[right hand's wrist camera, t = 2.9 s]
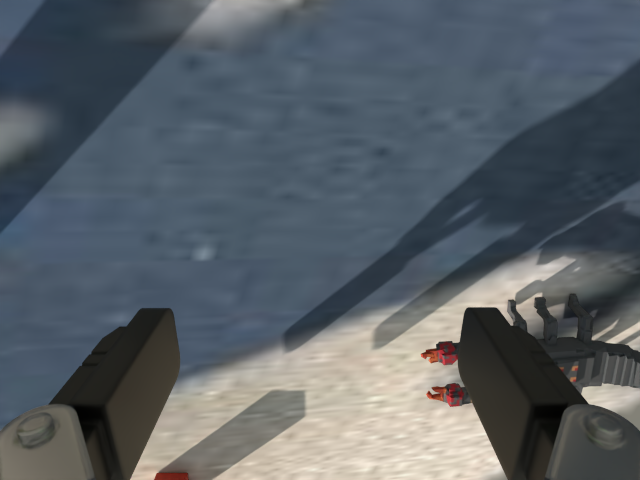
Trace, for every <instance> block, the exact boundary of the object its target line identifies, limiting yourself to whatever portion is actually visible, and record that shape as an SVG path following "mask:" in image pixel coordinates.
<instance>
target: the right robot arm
mask: <svg viewBox="0 0 640 480" xmlns="http://www.w3.org/2000/svg"><path fill="white" fill-rule="evenodd" d="M458 368H459V373H460V377H461V379H462V381H463V384H464V386H465V388H466V390H467V392H468V394H469V397H470V399H471V401H472V403H473V405H474V407H475V410H476V412H477V414H478V416H479V418H480V420H481V423H482V425H483V427H484V429H485V431H486V433H487V436H488V438H489V440H490V442H491V444H492V446H493V449H494V451H495V453H496V455H497V457H498V459H499V462H500V464H501V466H502V468H503V470H504V472H505V475H506V477H507V479H508V480H640V431H639V430H638V429H637V428H636V427H635V426H634V425H633V424H632V423H630V422H629V421H628V420H626V419H625V418H623V417H622V416H620V415H618V414H617V413H615V412H612V411H610V410H608V409H605V408H602V407H599V406H595V405H589V404H588V402H587V401H586V400H585V399H584V398H583V396H582V395H581V394H580V393H579V391H578V390H577V389H576V388H575V386H574V385H573V384H572V383H571V382H570V380H569V379H568V378H567V377H566V375H565V374H564V373H563V372H562V370H561V369H560V368H559V367H558V365H555V362H554V361H553V359H552V358H551V357H550V356H549V354H546V351H545V349H544V348H543V347H542V346H541V345H540V343H539V342H538V341H537V340H536V338H535V337H533V336H532V335H530V334H529V333H527V332H526V331H524V330H523V329H522V328H520V327H519V326H511V325H510V324H509V323H508V322H507V320H506V319H505V318H504V316H503V315H502V314H501V312H500V311H499V310H498V309H497V308H467V309H466V310H465V313H464V318H463V324H462V331H461V338H460V344H459V351H458ZM179 369H180V352H179V346H178V339H177V333H176V326H175V320H174V314H173V312H172V310H171V309H170V308H142V309H140V310H139V311H138V312H137V314H136V315H135V316H134V318H133V319H132V320H131V322H130V323H129V324H128V325H127V327H119V328H117V329H116V330H114V331H113V332H111V333H110V334H108V335H107V336H105V337H104V338H102V340H101V341H100V342H99V343H98V345H97V346H96V347H95V348H94V349H93V351H92V354H91V355H89V356H88V357H87V358H86V359H85V360H84V362H83V363H82V366H80V367H79V368H78V369H77V370H76V371H75V373H74V374H73V375H72V376H71V378H70V379H69V380H68V381H67V382H66V384H65V385H64V386H63V387H62V389H61V390H60V391H59V392H58V393H57V395H56V396H55V397H54V398H53V400H52V401H51V402H50V403H49V404H48V405H45V406H41V407H38V408H35V409H32V410H30V411H28V412H25V413H23V414H22V415H20V416H18V417H17V418H15V419H13V420H12V421H11V422H9V423H8V424H7V425H6V426H5V427H4V428H3V429H2V430H1V431H0V480H130V478H131V476H132V474H133V472H134V470H135V468H136V465H137V463H138V461H139V459H140V457H141V455H142V453H143V450H144V448H145V446H146V444H147V442H148V440H149V438H150V435H151V433H152V431H153V429H154V427H155V425H156V423H157V420H158V418H159V416H160V414H161V412H162V410H163V408H164V405H165V403H166V401H167V399H168V397H169V395H170V393H171V391H172V388H173V386H174V384H175V382H176V380H177V377H178V374H179Z"/></svg>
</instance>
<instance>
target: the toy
mask: <svg viewBox="0 0 640 480" xmlns="http://www.w3.org/2000/svg"><path fill="white" fill-rule="evenodd" d="M545 302H546V299H545V298H544V297H537V298H535V303H534V307H535V308H536V309H538V310H537V313H538V314H539V315H540V316H541V317H542V318H543V320H544V333H543V335H544V339H536V340H537V341H538V342H539V343H540V345H541V346H542V347H543V348H544V349H545V351H546V354H549V356H550V357H551V358H552V359H553V361H554V362H555V365H558V367H559V368H560V369H561V370H562V372H563V373H564V374H565V375H566V377H567V378H568V379H569V380H570V382H571V383H572V384H573V385H574V386H575V388H576V389H577V390H578V391H579V393H580V394H581V392H582V389H583V387H588V386H601V385H602V383H604V384H606V383H608V384H614V385H621V386H630V387H633V388H640V352H638V351H636V350H633V349H631V348H630V347H629V346H628V345H623V344H611V343H605V342H602V341H593V340H591V339H592V326H593V317H592V316H591V315H590V314H589V313H587V312H586V311H585V310H584V309H583V308H582V307H581V306H580V305H579V303H578V299H577V296H576V294H570V299H569V307H570V308H571V309H572V310H573V312H574V313H575V314H576V316H577V317H578V332H577V338H574V337H560V338H557V320H556V319H555V318H554V317H553V316H552V315H550V313H549V312H548V310H547V308H546V305H545ZM507 312H508V313H509V315H510V316H511V318H512V319H513V321H514V322H513V326H519V327H520V328H522V329H523V330H524V331H526V332H527V323H526V321H525V320H524V319H523V318H522V317H521V315H520V314H519V313H518V312H517V311H516V302H515V301H514V300H508V310H507ZM459 344H460V342H459V343H452V341H446V342H439V343H438V344H436V349H428V350H426V352H424V353H422V354H421V357H423V358H425V359H426V358H427V357H431V358H430V359H429V361H430V363H434V362H438V361H439V362H441V363H443V365H452V364H453V363H454V362H455V361H456V360H458V351H459ZM432 389H433V390H434V391H435V392H439V394H434V395H432V394H431V393H430V391H428V393H427V394H426V395H427V397H428V398H429V399H435V400H440V401H443V402H446V403H448V404H449V406H450V407H453V406H462V404H469V403H472V401H471V399H470V397H469V394H468V392H467V390H466V388H465V387H460V385H459V384H456V383H452V384H447V385H446V386H445V387H432Z"/></svg>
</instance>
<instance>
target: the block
mask: <svg viewBox="0 0 640 480" xmlns="http://www.w3.org/2000/svg"><path fill="white" fill-rule="evenodd" d="M154 480H189V479H188V473H157V474H156V477H155V479H154Z"/></svg>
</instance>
